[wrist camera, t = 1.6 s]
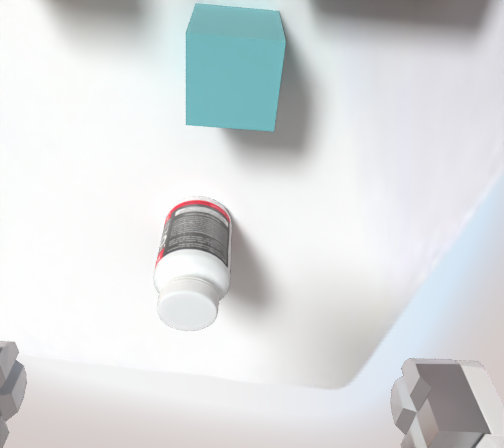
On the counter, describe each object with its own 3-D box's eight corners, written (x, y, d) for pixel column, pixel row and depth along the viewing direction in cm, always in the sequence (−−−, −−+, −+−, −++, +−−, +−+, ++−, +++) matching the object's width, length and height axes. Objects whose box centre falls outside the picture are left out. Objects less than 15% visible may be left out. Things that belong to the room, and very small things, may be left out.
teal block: (196, 3, 27) (185, 32, 23) (278, 10, 28) (286, 41, 23) (194, 84, 30) (185, 124, 26) (269, 90, 31) (274, 131, 26)
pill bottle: (156, 200, 36) (133, 291, 28) (222, 188, 35) (216, 277, 28) (178, 250, 39) (162, 343, 32) (238, 239, 39) (237, 332, 31)
